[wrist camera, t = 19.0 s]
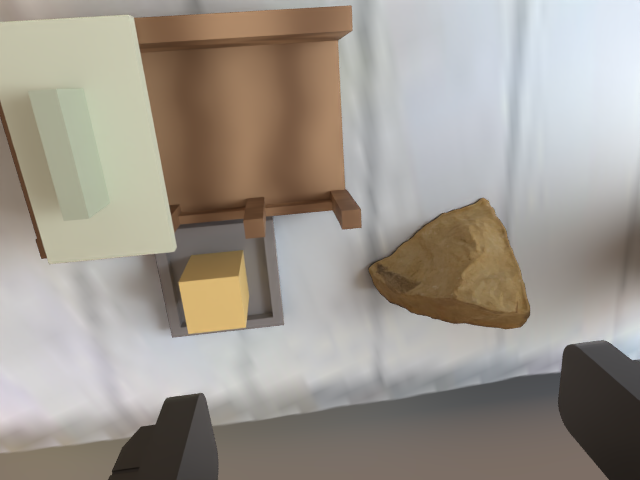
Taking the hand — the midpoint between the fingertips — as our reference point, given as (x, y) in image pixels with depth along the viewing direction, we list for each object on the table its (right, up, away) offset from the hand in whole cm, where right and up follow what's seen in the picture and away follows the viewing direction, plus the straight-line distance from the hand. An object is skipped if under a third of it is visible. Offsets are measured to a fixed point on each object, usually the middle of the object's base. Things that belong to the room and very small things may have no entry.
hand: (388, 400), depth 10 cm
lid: (-14, +9, +14) cm, 22 cm away
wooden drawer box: (-10, +12, +22) cm, 27 cm away
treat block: (-9, +1, +25) cm, 27 cm away
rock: (+7, +3, +27) cm, 28 cm away
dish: (-9, +1, +26) cm, 27 cm away
